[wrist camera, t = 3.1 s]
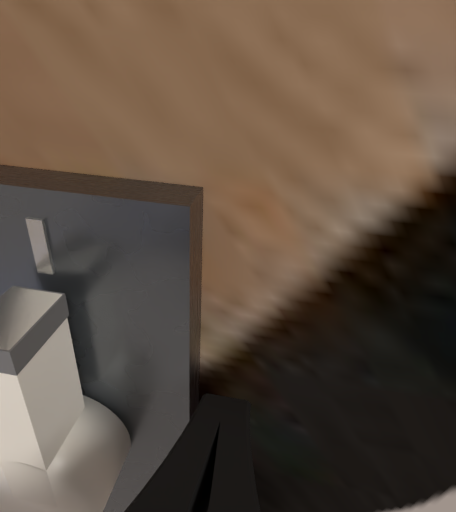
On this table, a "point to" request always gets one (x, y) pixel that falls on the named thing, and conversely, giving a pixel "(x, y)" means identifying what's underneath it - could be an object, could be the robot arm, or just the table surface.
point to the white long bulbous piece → (50, 414)
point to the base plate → (116, 295)
